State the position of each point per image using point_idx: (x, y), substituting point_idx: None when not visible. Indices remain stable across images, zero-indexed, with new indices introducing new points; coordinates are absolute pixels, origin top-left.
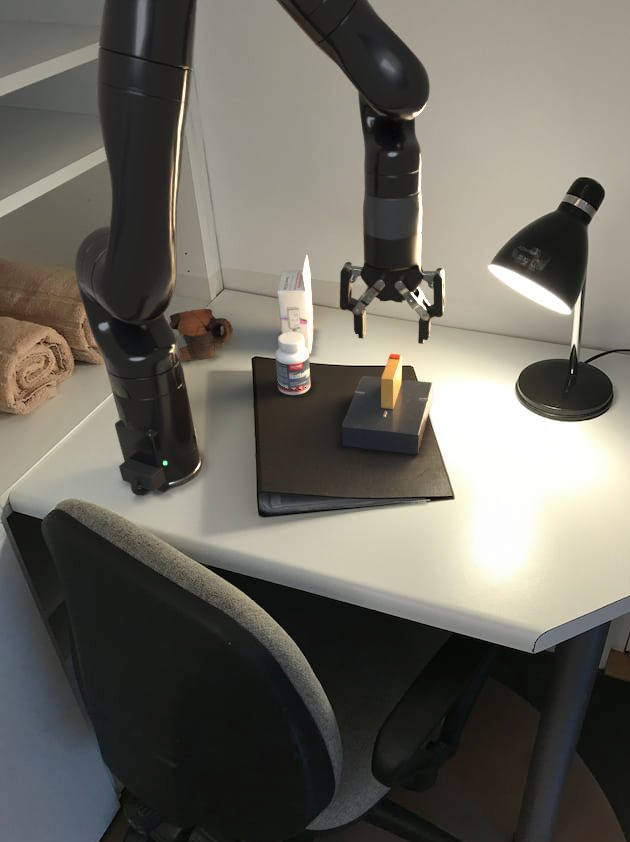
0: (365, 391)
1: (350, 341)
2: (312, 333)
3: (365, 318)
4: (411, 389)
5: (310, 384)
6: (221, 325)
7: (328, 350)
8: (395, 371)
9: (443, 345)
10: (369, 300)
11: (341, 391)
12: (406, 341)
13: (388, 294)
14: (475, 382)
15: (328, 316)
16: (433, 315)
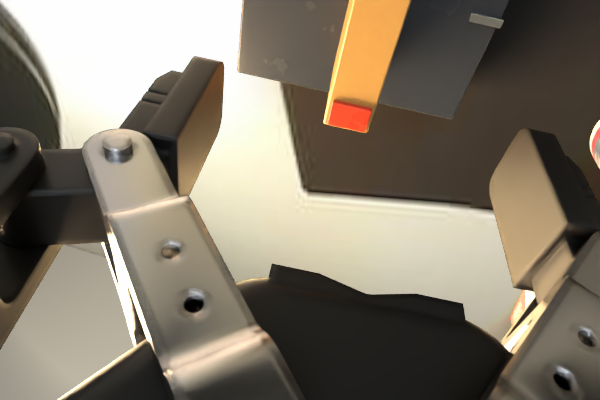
0: (460, 28)
1: (435, 280)
2: (520, 307)
3: (510, 235)
4: (301, 34)
5: (592, 134)
6: None
7: (493, 259)
8: (355, 4)
9: (238, 249)
10: (570, 312)
11: (504, 104)
12: (314, 268)
13: (390, 347)
14: None
15: None
16: (65, 157)
